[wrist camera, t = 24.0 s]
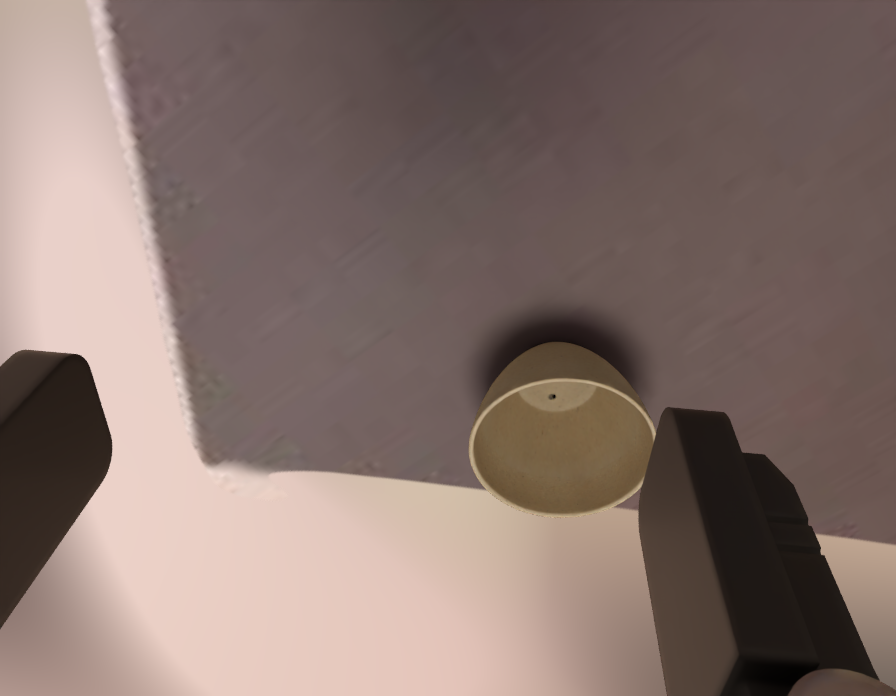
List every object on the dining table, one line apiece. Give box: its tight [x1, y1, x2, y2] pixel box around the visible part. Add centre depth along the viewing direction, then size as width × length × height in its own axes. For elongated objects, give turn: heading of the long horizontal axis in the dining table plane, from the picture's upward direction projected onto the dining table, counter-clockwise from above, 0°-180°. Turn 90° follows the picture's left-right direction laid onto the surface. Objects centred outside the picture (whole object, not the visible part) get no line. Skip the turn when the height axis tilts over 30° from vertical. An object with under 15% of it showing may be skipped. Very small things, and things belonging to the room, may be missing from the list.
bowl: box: [469, 342, 656, 518], centre depth 40 cm, size 10×10×7 cm
